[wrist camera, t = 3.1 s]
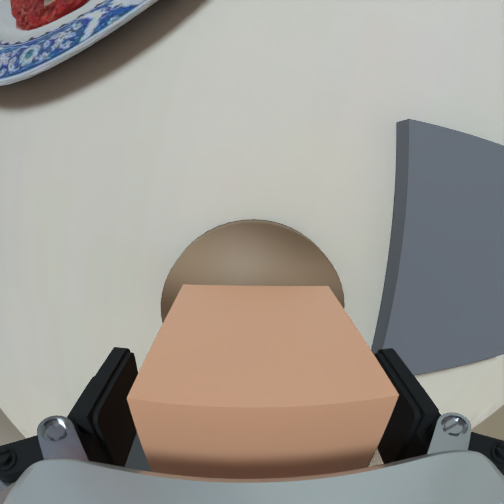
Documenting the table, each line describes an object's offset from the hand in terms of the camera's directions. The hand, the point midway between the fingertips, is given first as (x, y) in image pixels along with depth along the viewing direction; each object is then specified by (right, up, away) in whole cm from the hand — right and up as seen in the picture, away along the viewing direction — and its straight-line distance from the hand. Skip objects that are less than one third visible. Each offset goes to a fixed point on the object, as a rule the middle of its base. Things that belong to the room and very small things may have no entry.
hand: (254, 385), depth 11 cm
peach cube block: (0, +1, +2) cm, 3 cm away
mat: (+15, +5, +6) cm, 17 cm away
